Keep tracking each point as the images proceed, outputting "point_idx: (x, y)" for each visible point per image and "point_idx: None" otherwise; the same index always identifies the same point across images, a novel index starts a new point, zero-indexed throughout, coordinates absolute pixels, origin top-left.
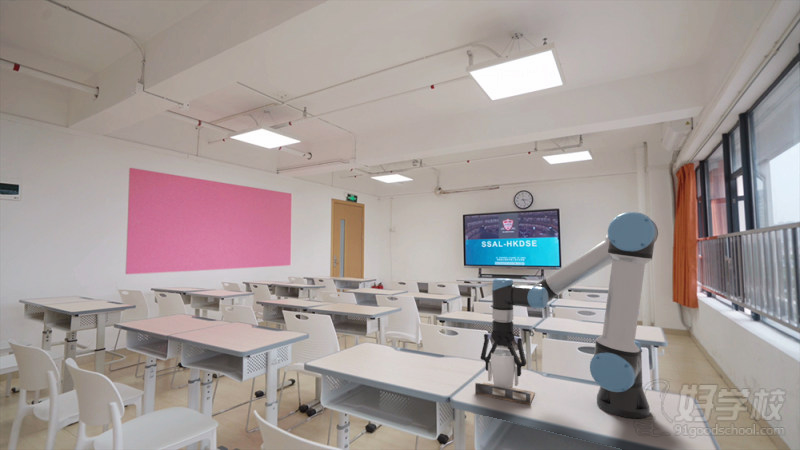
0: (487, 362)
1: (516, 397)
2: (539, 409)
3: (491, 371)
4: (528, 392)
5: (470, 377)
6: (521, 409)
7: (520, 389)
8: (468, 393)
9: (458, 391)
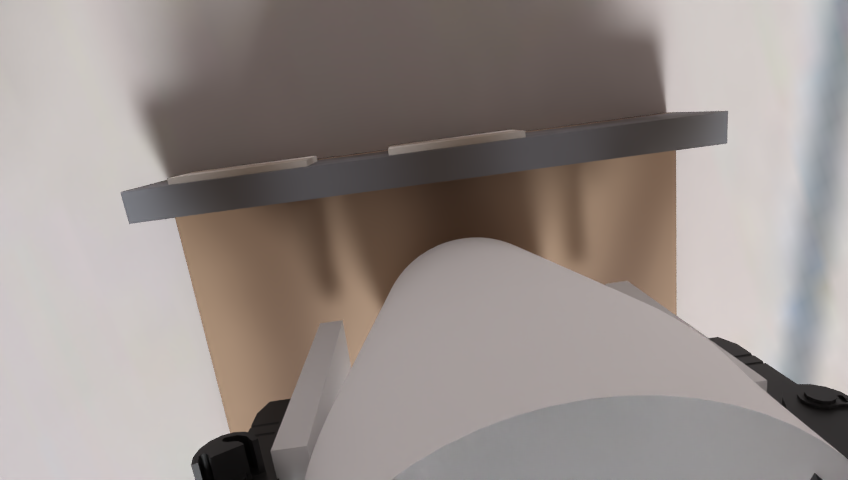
0: (782, 401)
1: (277, 161)
2: (70, 136)
3: None
4: (271, 399)
5: None
6: (191, 30)
7: None
8: (724, 77)
9: (822, 62)
